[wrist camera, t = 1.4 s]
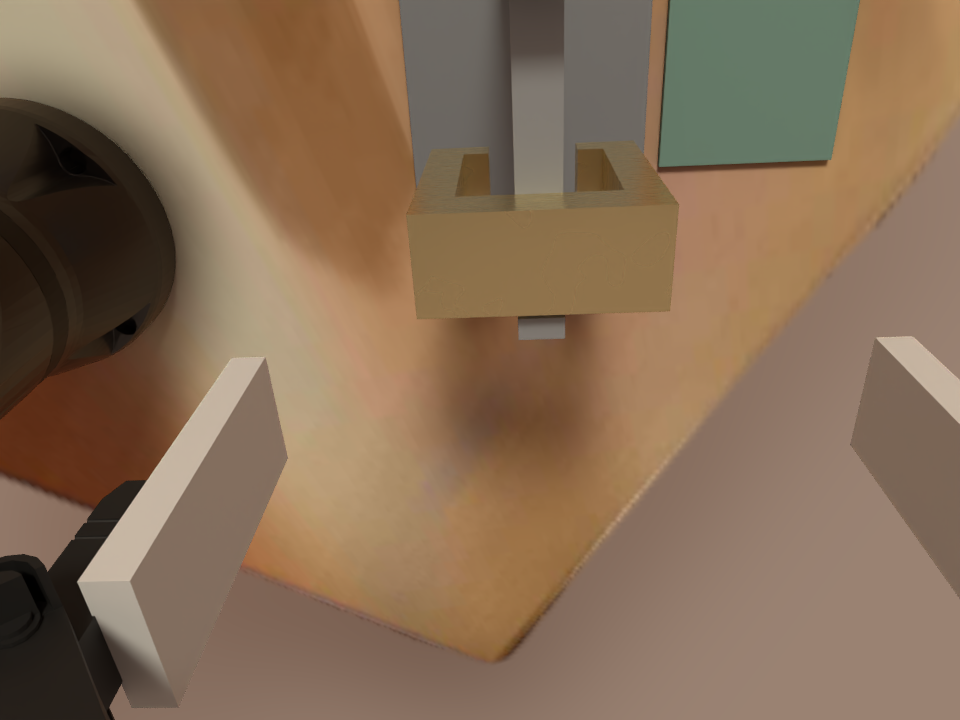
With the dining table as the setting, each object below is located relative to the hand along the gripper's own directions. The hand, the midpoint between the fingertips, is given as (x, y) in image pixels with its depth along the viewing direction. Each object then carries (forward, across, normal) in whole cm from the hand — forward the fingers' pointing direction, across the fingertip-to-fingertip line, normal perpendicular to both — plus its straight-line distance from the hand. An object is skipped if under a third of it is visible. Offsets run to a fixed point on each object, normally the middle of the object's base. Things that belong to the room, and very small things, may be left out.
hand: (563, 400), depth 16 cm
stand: (+26, 0, +4) cm, 26 cm away
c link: (+17, 0, 0) cm, 17 cm away
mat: (+26, +11, +3) cm, 29 cm away
